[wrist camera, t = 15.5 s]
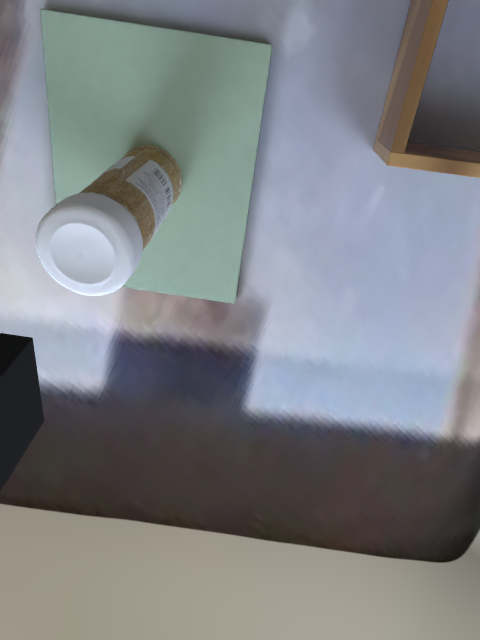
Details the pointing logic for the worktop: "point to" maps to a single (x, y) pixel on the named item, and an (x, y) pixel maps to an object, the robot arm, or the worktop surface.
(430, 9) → the wooden tray
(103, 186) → the spice bottle
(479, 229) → the worktop surface
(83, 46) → the mat
